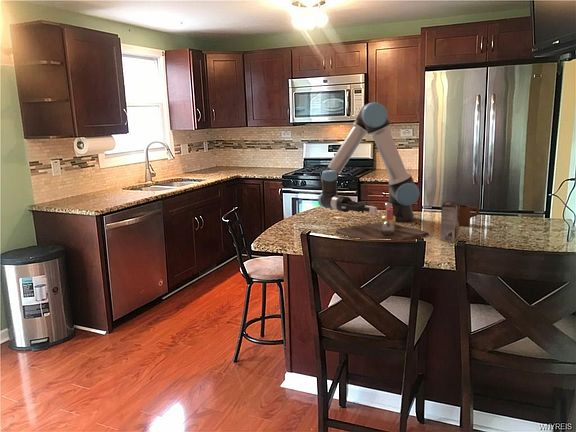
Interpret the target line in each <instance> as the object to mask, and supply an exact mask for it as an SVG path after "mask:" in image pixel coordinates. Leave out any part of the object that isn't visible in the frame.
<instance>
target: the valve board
mask: <svg viewBox="0 0 576 432" xmlns="http://www.w3.org/2000/svg"><path fill="white" fill-rule="evenodd" d="M381 224H382V221H379V222H374V223H370V224H364V225H359V226H354V227H348V228H344V229H338V230H335V234H336V233H337V234H336V235H338V234H341V235H344V236H343V237H345V236H348V237H349V239H351V238H360V239H391V240H407V241H410V240H411V241H412V240H415V239H420V238H423V237H427V236H430V232H429V231H425V230H420V229H415V228H412V227H409V226H408V227H407V226H404V225H399V224H395V233H394V235H393V236H384V235H383V234H382V232H381ZM341 235H340V236H341ZM348 237H347V238H348Z"/></svg>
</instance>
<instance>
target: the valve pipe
mask: <svg viewBox="0 0 576 432" xmlns="http://www.w3.org/2000/svg"><path fill="white" fill-rule="evenodd" d="M381 222H382V224H381V232H382V234H383V235H384V236H393V235H394V233H395V225H396V221H395V215H393V220H387V218H386V213H385V214H382V215H381Z"/></svg>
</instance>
